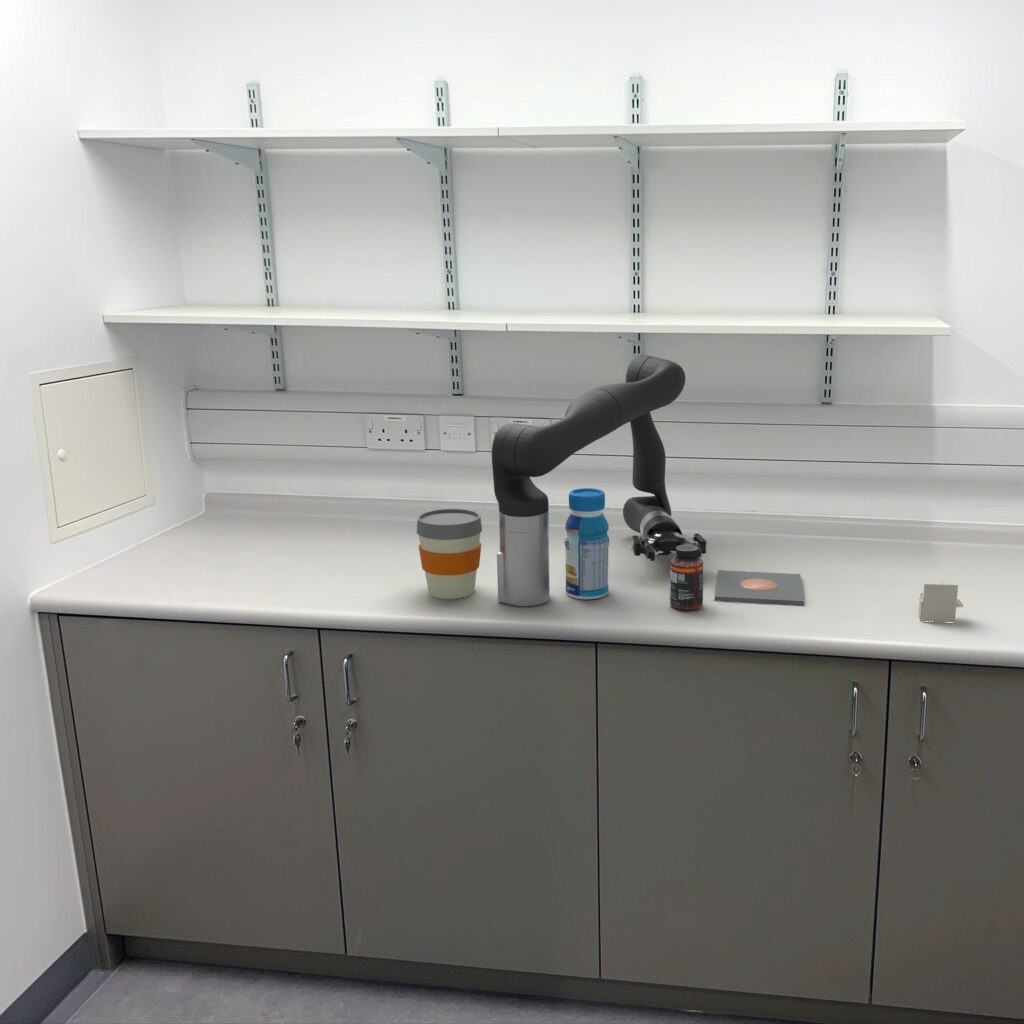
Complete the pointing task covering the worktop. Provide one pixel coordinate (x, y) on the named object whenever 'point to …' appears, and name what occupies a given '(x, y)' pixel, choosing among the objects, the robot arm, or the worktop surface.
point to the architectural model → (939, 603)
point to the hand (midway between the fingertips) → (675, 555)
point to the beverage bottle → (586, 545)
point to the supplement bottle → (686, 579)
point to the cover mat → (759, 587)
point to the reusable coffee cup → (450, 551)
